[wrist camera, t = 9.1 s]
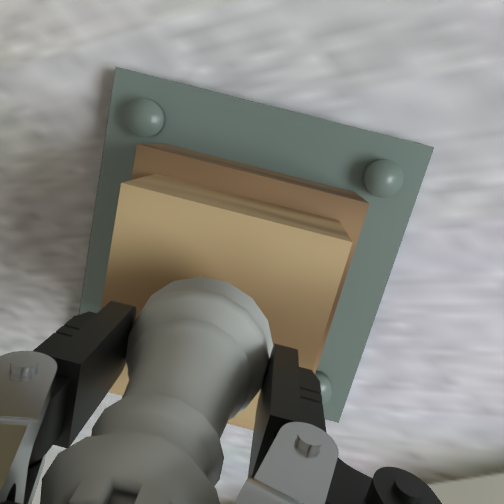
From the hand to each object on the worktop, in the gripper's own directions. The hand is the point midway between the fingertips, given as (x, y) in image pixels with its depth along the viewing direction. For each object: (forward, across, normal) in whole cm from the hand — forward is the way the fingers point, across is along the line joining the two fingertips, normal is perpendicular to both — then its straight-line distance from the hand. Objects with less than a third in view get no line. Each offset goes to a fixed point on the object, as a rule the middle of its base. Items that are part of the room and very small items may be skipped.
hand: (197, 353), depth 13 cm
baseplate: (+12, 0, 0) cm, 12 cm away
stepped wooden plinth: (+12, 0, 0) cm, 12 cm away
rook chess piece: (+2, 0, 0) cm, 2 cm away
